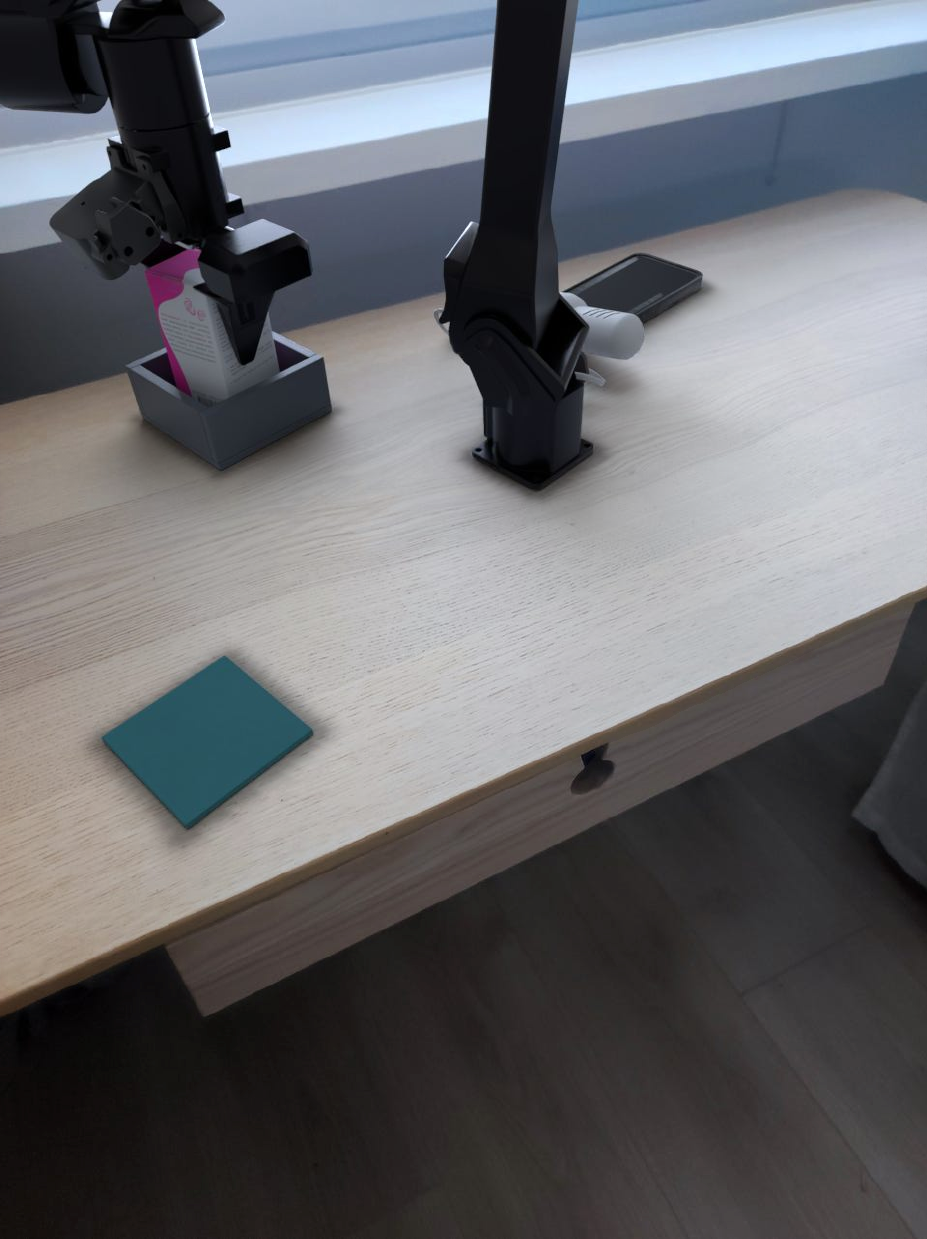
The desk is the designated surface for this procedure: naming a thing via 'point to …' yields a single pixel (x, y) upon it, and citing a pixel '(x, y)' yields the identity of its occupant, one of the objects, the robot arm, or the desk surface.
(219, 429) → the grey open box
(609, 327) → the clip-on lamp
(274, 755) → the counter mat
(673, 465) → the desk surface
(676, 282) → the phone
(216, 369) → the supplement box
